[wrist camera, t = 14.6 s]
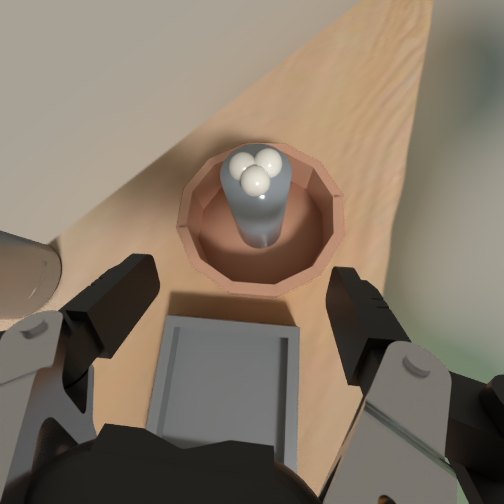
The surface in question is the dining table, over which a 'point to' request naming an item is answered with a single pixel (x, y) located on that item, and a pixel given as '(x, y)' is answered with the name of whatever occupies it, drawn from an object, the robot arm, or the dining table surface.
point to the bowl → (277, 255)
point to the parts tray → (227, 384)
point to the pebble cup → (257, 192)
